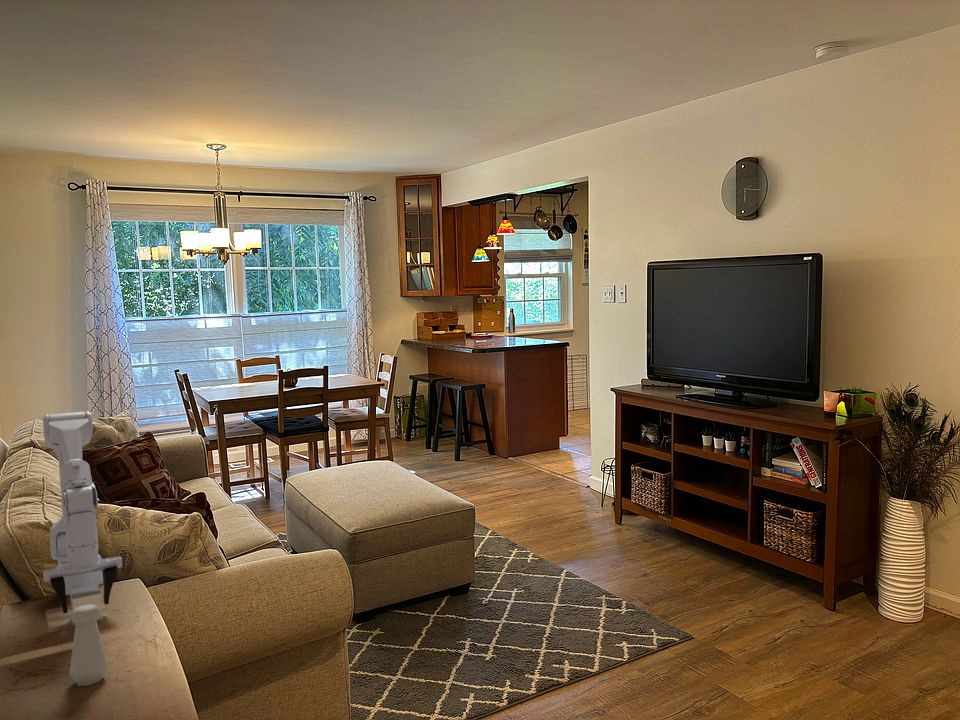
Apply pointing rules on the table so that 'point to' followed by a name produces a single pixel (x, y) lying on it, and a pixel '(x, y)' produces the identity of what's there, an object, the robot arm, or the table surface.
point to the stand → (66, 618)
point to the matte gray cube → (86, 598)
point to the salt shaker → (87, 647)
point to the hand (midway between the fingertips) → (86, 607)
